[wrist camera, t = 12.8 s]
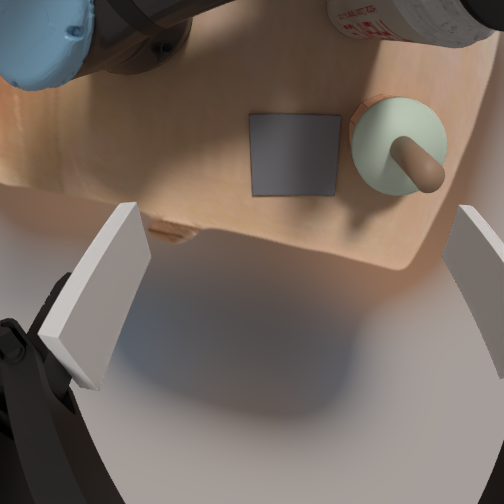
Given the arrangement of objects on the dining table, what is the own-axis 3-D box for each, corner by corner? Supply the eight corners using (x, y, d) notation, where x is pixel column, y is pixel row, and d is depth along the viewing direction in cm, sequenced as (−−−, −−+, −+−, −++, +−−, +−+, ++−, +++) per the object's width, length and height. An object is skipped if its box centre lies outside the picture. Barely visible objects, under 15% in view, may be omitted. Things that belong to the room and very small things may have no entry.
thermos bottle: (357, 50, 32) (494, 87, 10) (313, 7, 29) (397, -47, 7) (398, 17, 29) (559, 27, 7) (355, -27, 26) (483, -92, 4)
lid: (346, 188, 40) (363, 229, 32) (354, 90, 32) (380, 108, 24) (431, 193, 39) (461, 231, 31) (448, 104, 31) (489, 127, 23)
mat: (252, 193, 46) (252, 195, 46) (249, 114, 39) (249, 115, 39) (333, 193, 46) (334, 195, 45) (339, 115, 38) (340, 116, 38)
